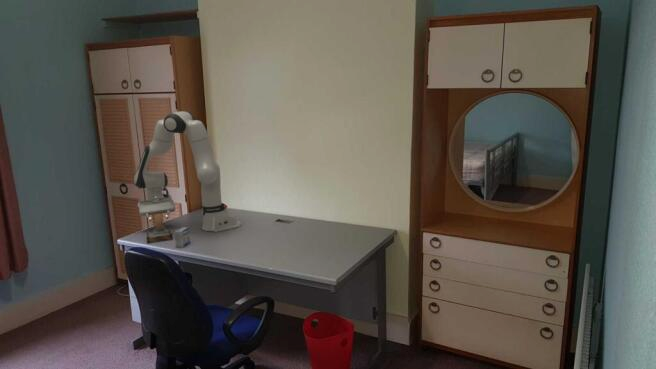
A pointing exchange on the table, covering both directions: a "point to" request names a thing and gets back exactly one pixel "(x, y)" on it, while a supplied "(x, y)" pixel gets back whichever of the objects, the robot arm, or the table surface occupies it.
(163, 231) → the pad
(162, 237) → the frame
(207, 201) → the robot arm
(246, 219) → the table surface
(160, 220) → the terracotta canister
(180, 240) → the medicine box
